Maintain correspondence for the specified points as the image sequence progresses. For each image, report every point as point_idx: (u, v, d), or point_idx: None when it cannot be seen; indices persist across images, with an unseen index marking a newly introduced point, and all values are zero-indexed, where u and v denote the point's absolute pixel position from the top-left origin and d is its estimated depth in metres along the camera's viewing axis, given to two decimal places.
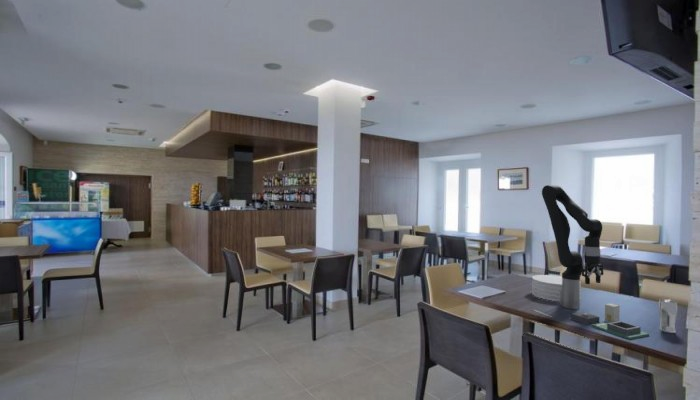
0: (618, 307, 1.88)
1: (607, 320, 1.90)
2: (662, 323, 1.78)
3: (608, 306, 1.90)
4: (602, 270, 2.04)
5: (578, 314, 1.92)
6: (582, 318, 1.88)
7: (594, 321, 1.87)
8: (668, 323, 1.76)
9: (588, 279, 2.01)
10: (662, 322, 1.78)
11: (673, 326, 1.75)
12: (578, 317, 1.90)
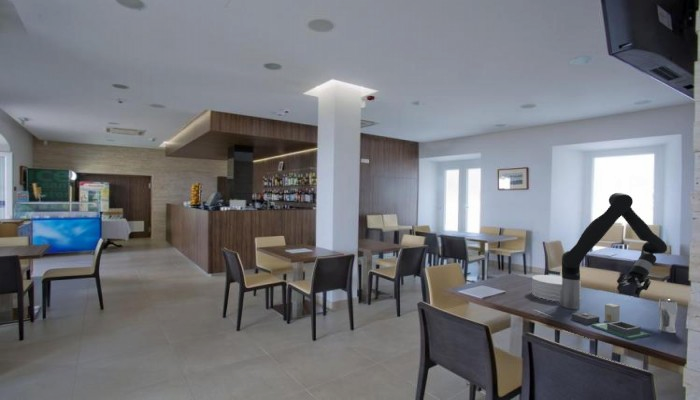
0: (618, 307, 1.88)
1: (607, 320, 1.90)
2: (662, 323, 1.78)
3: (608, 306, 1.90)
4: None
5: (578, 314, 1.92)
6: (582, 318, 1.88)
7: (594, 321, 1.87)
8: (668, 323, 1.76)
9: None
10: (662, 322, 1.78)
11: (673, 326, 1.75)
12: (578, 317, 1.90)
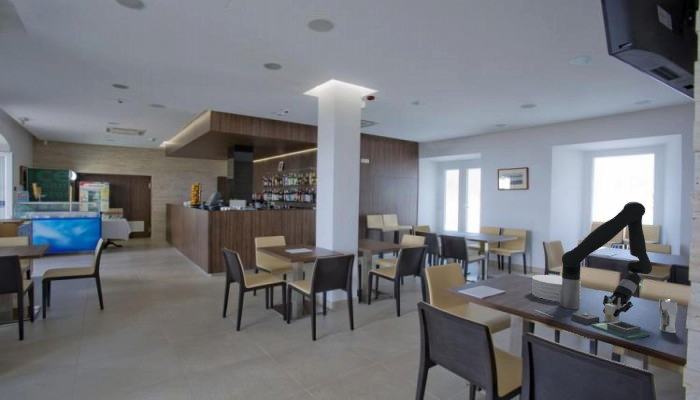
0: None
1: (607, 320, 1.90)
2: (662, 323, 1.78)
3: (608, 306, 1.90)
4: None
5: (578, 314, 1.92)
6: (582, 318, 1.88)
7: (594, 321, 1.87)
8: (668, 323, 1.76)
9: None
10: (662, 322, 1.78)
11: (673, 326, 1.75)
12: (578, 317, 1.90)
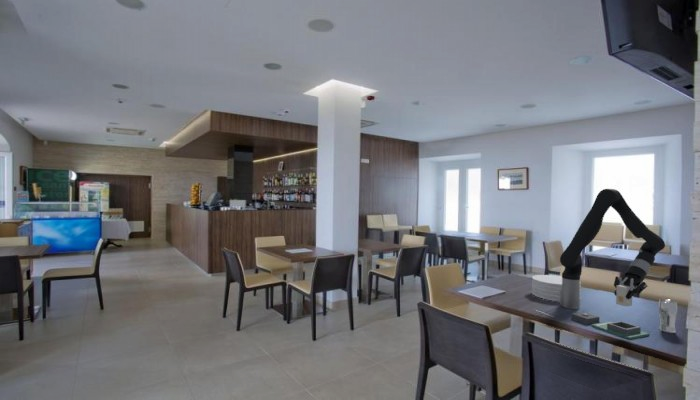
0: None
1: (619, 303, 1.75)
2: (662, 323, 1.78)
3: (620, 287, 1.75)
4: (618, 284, 1.81)
5: (578, 314, 1.92)
6: (582, 318, 1.88)
7: (594, 321, 1.87)
8: (668, 322, 1.76)
9: None
10: (662, 322, 1.78)
11: (673, 326, 1.75)
12: (578, 317, 1.90)
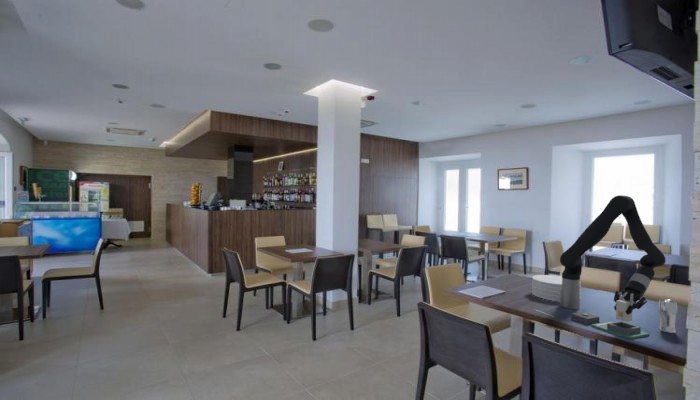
0: None
1: (619, 318, 1.75)
2: (662, 323, 1.78)
3: (620, 302, 1.75)
4: None
5: (578, 314, 1.92)
6: (582, 318, 1.88)
7: (594, 321, 1.87)
8: (668, 323, 1.76)
9: None
10: (662, 322, 1.78)
11: (673, 326, 1.75)
12: (578, 317, 1.90)
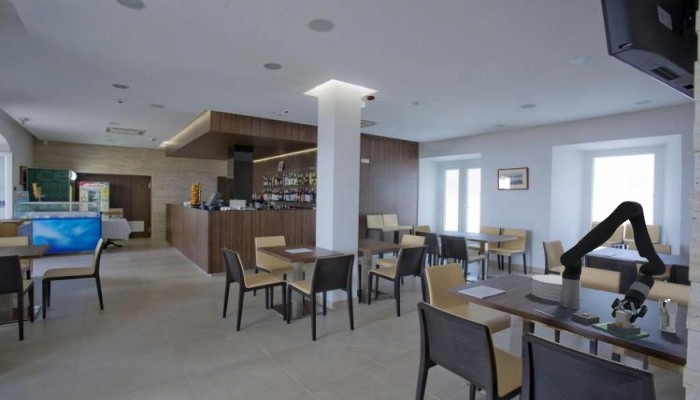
0: (630, 314, 1.74)
1: None
2: (662, 323, 1.78)
3: (619, 313, 1.75)
4: (616, 306, 1.83)
5: (578, 314, 1.92)
6: (582, 318, 1.88)
7: (594, 321, 1.87)
8: (668, 323, 1.76)
9: None
10: (662, 322, 1.78)
11: (673, 326, 1.75)
12: (578, 317, 1.90)
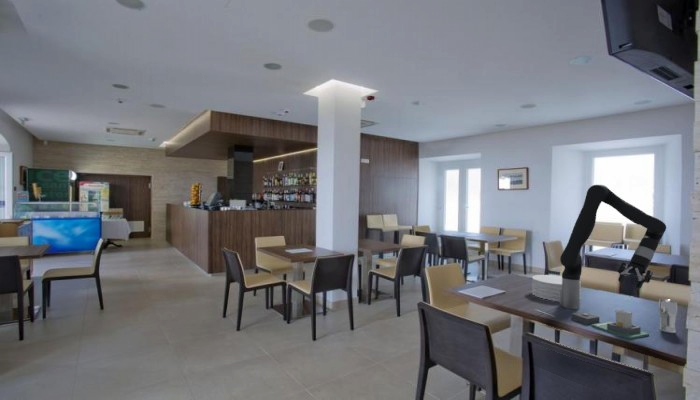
0: (630, 314, 1.74)
1: None
2: (662, 323, 1.78)
3: (619, 313, 1.75)
4: (623, 269, 1.91)
5: (578, 314, 1.92)
6: (582, 318, 1.88)
7: (594, 321, 1.87)
8: (668, 323, 1.76)
9: None
10: (662, 322, 1.78)
11: (673, 326, 1.75)
12: (578, 317, 1.90)
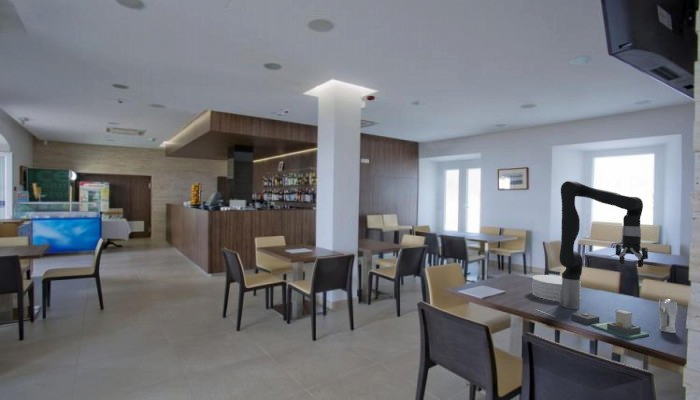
0: (630, 314, 1.74)
1: None
2: (662, 323, 1.78)
3: (619, 313, 1.75)
4: None
5: (578, 314, 1.92)
6: (582, 318, 1.88)
7: (594, 321, 1.87)
8: (668, 322, 1.76)
9: None
10: (662, 322, 1.78)
11: (673, 326, 1.75)
12: (578, 317, 1.90)
